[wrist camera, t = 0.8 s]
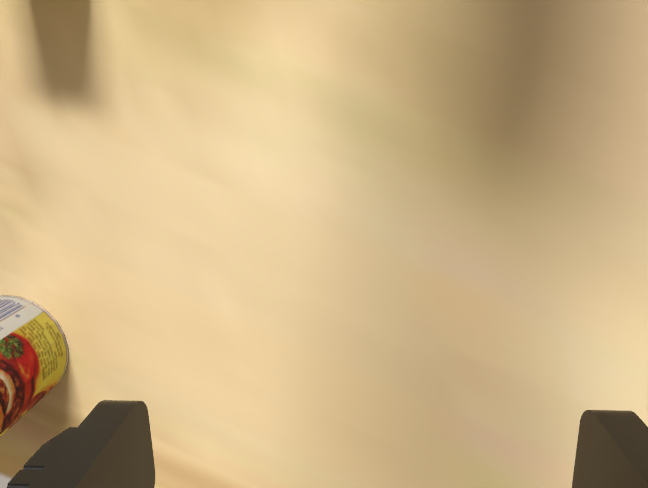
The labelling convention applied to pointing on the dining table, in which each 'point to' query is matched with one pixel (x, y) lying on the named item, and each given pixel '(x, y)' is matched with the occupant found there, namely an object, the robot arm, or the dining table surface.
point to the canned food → (27, 357)
